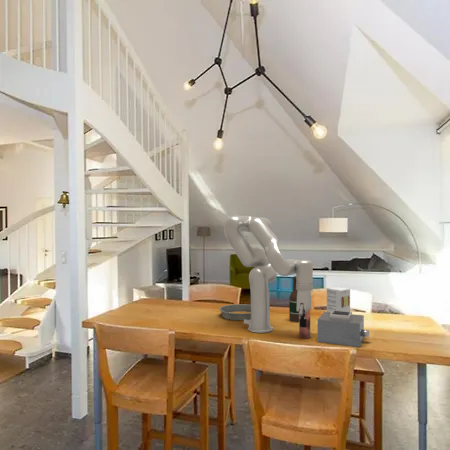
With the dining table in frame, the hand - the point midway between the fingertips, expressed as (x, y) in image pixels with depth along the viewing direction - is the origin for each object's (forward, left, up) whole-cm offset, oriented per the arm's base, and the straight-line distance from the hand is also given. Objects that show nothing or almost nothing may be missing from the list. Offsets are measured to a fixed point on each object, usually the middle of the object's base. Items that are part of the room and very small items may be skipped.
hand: (304, 325), depth 179 cm
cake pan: (-43, +25, -6) cm, 50 cm away
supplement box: (+9, +40, -6) cm, 41 cm away
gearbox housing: (+17, +3, -5) cm, 19 cm away
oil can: (0, 0, -5) cm, 5 cm away
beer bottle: (-11, +27, -6) cm, 30 cm away
